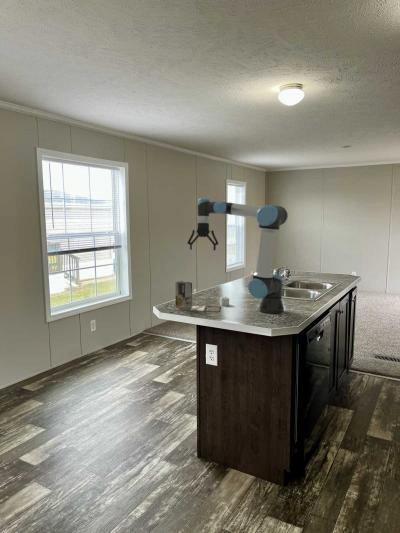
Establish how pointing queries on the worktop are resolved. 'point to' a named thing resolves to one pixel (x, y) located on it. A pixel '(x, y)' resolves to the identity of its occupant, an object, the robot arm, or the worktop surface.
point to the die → (224, 301)
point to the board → (197, 308)
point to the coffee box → (183, 294)
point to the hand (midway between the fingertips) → (202, 255)
